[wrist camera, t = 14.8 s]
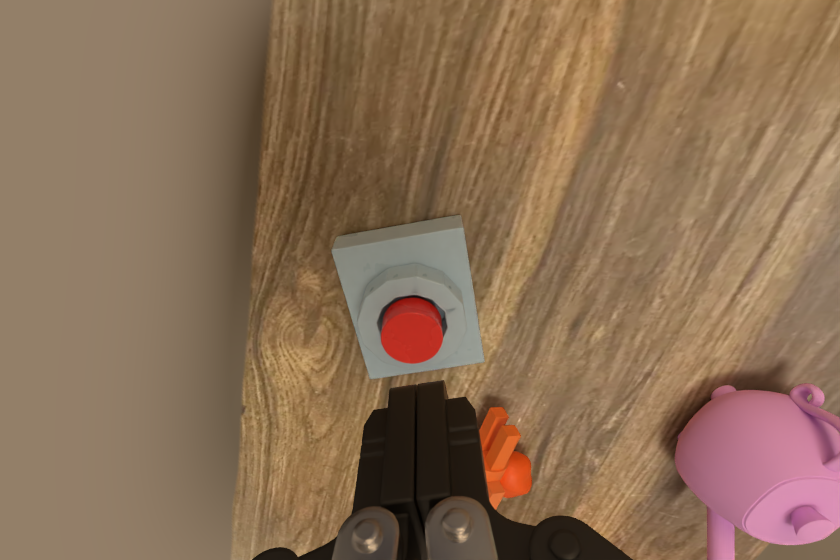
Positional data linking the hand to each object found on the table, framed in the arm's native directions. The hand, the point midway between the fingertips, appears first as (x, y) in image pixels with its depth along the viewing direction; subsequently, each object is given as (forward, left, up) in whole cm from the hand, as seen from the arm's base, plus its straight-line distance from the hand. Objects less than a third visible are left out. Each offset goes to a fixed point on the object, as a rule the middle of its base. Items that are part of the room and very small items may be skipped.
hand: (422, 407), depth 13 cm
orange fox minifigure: (+22, +1, -18) cm, 29 cm away
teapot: (+23, +20, -18) cm, 36 cm away
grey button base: (+6, -2, -18) cm, 19 cm away
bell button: (+6, -2, -14) cm, 16 cm away
